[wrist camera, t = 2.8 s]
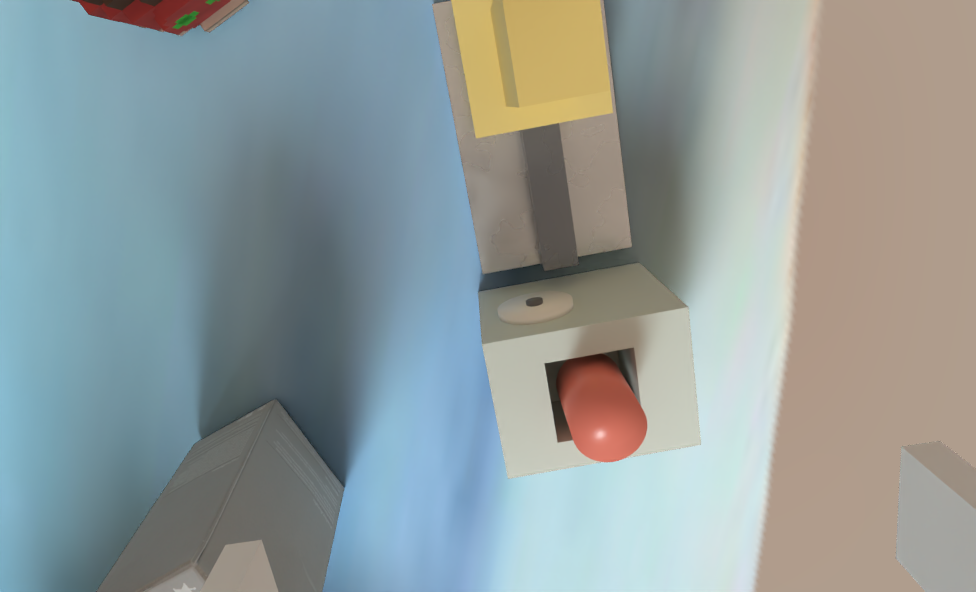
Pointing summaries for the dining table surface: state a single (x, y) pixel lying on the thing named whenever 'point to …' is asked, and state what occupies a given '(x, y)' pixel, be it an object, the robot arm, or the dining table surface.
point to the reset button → (600, 408)
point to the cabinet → (577, 333)
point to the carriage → (532, 62)
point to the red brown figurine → (166, 13)
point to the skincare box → (238, 510)
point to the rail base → (508, 175)
